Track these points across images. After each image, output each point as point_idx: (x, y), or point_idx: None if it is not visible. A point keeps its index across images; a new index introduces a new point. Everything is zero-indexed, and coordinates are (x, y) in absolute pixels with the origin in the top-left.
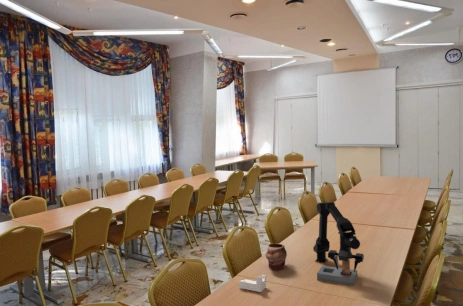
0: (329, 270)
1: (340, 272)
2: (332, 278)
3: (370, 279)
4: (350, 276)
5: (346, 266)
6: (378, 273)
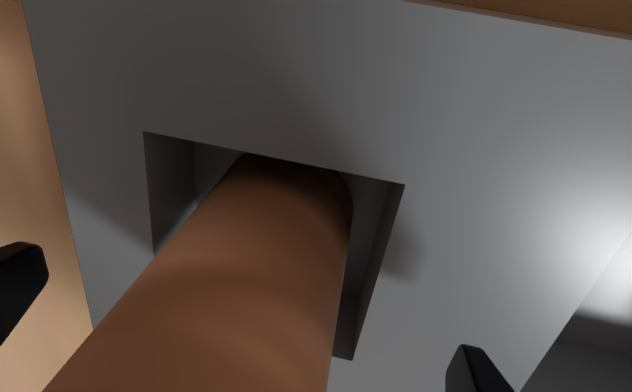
0: (603, 386)
1: (390, 279)
2: (629, 36)
3: (8, 243)
4: (133, 92)
5: (108, 378)
6: (2, 370)
